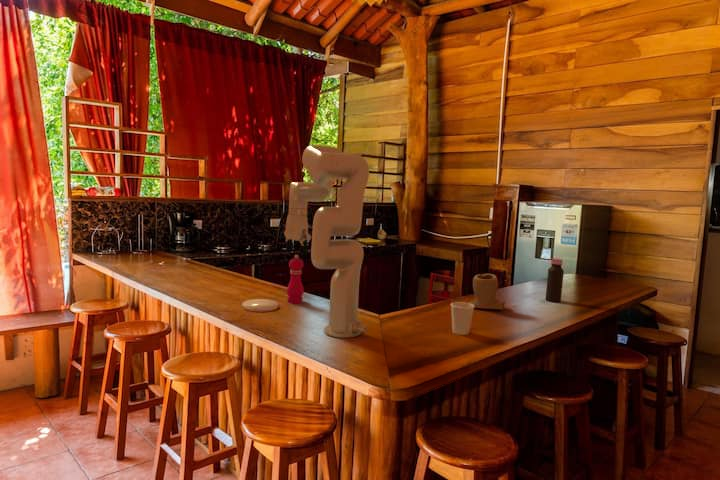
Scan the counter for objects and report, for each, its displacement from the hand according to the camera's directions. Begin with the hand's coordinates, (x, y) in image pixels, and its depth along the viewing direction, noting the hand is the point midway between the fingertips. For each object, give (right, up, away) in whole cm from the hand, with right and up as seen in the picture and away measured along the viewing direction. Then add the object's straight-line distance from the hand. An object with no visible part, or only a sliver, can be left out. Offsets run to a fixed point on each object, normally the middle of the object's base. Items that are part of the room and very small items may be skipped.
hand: (296, 253), depth 198 cm
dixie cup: (+62, -27, -30) cm, 74 cm away
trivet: (-13, -21, -10) cm, 27 cm away
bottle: (+118, -24, +27) cm, 124 cm away
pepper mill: (-1, -21, +2) cm, 21 cm away
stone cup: (+81, -24, +6) cm, 85 cm away
